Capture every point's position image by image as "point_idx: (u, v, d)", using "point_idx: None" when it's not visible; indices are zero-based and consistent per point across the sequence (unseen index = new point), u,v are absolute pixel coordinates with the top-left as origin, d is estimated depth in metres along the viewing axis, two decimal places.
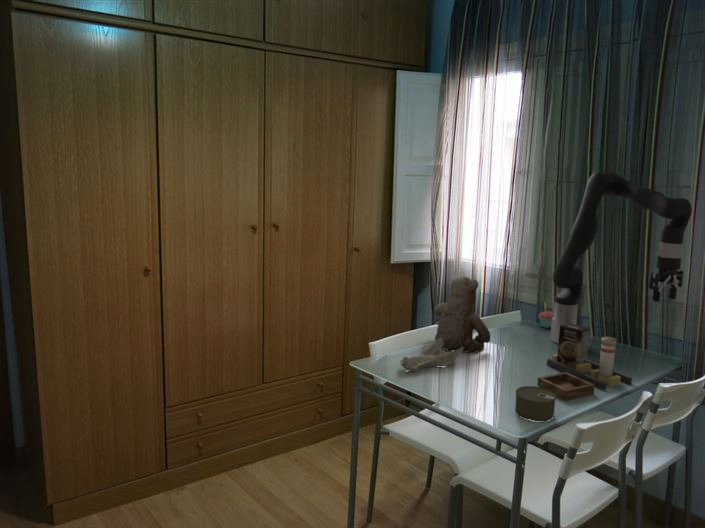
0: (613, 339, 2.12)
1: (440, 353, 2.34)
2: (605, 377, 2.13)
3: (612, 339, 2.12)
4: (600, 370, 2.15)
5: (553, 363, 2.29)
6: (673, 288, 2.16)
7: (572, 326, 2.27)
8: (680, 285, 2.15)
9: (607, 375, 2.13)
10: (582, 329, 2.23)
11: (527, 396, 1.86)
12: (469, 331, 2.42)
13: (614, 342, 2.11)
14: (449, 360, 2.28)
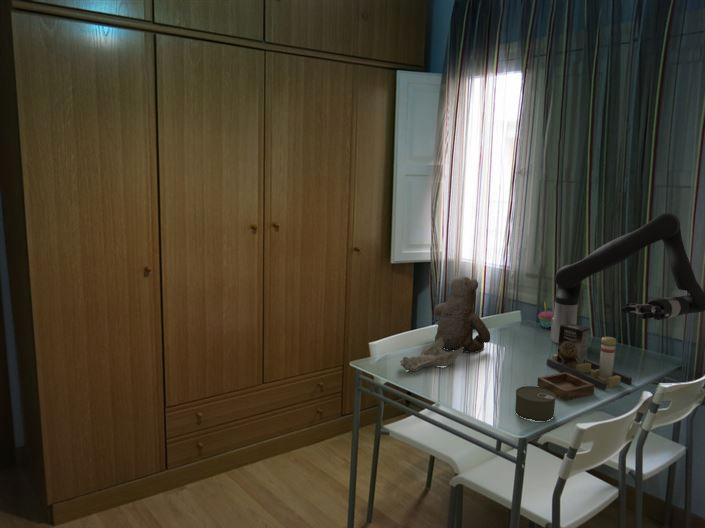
0: (613, 339, 2.12)
1: (440, 353, 2.34)
2: (605, 377, 2.13)
3: (612, 339, 2.12)
4: (600, 370, 2.15)
5: (553, 363, 2.29)
6: (631, 309, 2.21)
7: (572, 326, 2.27)
8: None
9: (607, 375, 2.13)
10: (582, 329, 2.23)
11: (527, 396, 1.86)
12: (469, 331, 2.42)
13: (614, 342, 2.11)
14: (449, 360, 2.28)
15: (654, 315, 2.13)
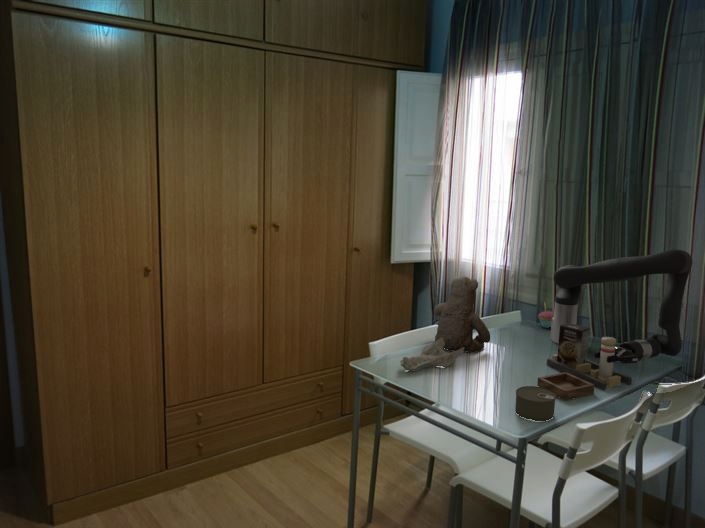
0: (613, 339, 2.12)
1: (441, 353, 2.33)
2: (605, 377, 2.13)
3: (612, 339, 2.12)
4: (600, 370, 2.15)
5: (553, 363, 2.29)
6: None
7: (572, 326, 2.27)
8: None
9: (607, 375, 2.13)
10: (582, 329, 2.23)
11: (527, 396, 1.86)
12: (469, 331, 2.42)
13: (614, 342, 2.11)
14: (449, 360, 2.28)
15: (619, 359, 2.11)
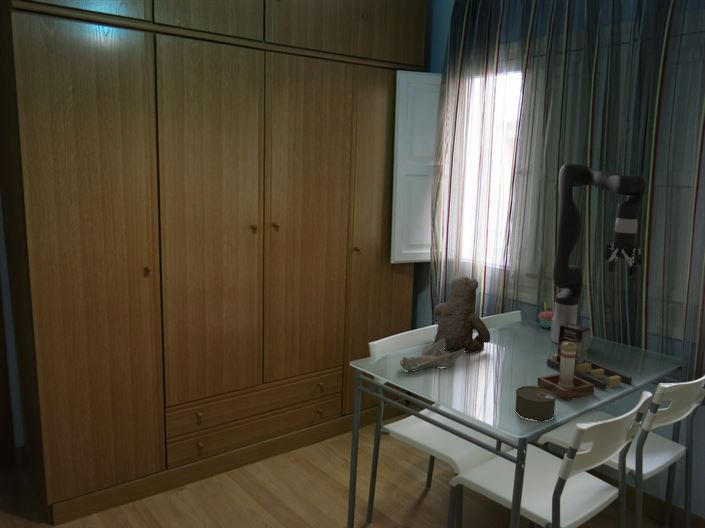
0: (573, 344, 2.04)
1: (441, 354, 2.33)
2: (565, 383, 2.05)
3: (572, 344, 2.04)
4: (560, 376, 2.06)
5: (553, 363, 2.29)
6: (613, 261, 2.27)
7: (572, 326, 2.27)
8: None
9: (567, 382, 2.05)
10: (582, 329, 2.23)
11: (527, 396, 1.87)
12: (469, 331, 2.42)
13: (574, 347, 2.03)
14: (450, 361, 2.27)
15: (635, 266, 2.18)
